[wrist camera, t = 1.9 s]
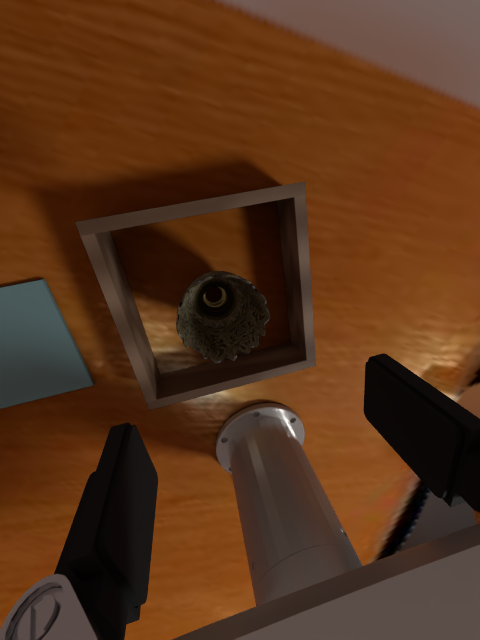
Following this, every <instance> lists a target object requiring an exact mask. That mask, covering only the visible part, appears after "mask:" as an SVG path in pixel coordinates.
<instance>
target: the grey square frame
mask: <svg viewBox="0 0 480 640" xmlns="http://www.w3.org/2000/svg"><path fill="white" fill-rule="evenodd" d="M276 200H277V209H278V219H279V229H280V239H281V248H282V258H283V268H284V278H285V288H286V298H287V308H288V318H289V328H290V337H291V342H289V343H285V344H281V345H277V346H273V347H269V348H265V349H261V350H257V351H253V352H249V353H248V354H241V355H237V358H236V359H235V360H234V361H232V360H231V359H229V358H225V359H224V360H223V361H222V362H220V363H214V362H209V363H205V364H201V365H197V366H193V367H189V368H185V369H182V370H178V371H174V372H170V373H166V374H162V375H160V372H159V369H158V367H157V364H156V361H155V358H154V355H153V352H152V349H151V347H150V344H149V341H148V338H147V335H146V332H145V329H144V327H143V324H142V321H141V318H140V315H139V312H138V309H137V306H136V304H135V301H134V298H133V295H132V292H131V289H130V286H129V284H128V281H127V278H126V275H125V272H124V269H123V266H122V264H121V261H120V258H119V255H118V252H117V249H116V246H115V244H114V241H113V238H112V235H111V232H110V231H112V230H118V229H123V228H129V227H134V226H140V225H145V224H151V223H156V222H162V221H167V220H172V219H178V218H183V217H189V216H194V215H200V214H205V213H211V212H216V211H222V210H227V209H233V208H238V207H243V206H249V205H254V204H260V203H265V202H271V201H276ZM75 223H76V226H77V228H78V231H79V233H80V236H81V239H82V241H83V244H84V246H85V249H86V251H87V254H88V256H89V259H90V261H91V264H92V266H93V269H94V271H95V274H96V276H97V279H98V281H99V284H100V287H101V289H102V292H103V294H104V297H105V299H106V302H107V304H108V307H109V309H110V312H111V314H112V317H113V319H114V322H115V324H116V327H117V329H118V332H119V335H120V337H121V340H122V342H123V345H124V347H125V350H126V352H127V355H128V357H129V360H130V362H131V365H132V367H133V370H134V372H135V375H136V377H137V380H138V382H139V385H140V388H141V390H142V393H143V395H144V398H145V400H146V403H147V405H148V408H149V410H152V409H156V408H160V407H163V406H167V405H171V404H175V403H178V402H182V401H186V400H190V399H193V398H197V397H201V396H205V395H208V394H212V393H216V392H220V391H223V390H227V389H231V388H235V387H238V386H242V385H246V384H250V383H253V382H257V381H261V380H265V379H268V378H272V377H276V376H280V375H283V374H287V373H291V372H295V371H298V370H302V369H306V368H310V367H313V366H316V359H315V342H314V325H313V309H312V292H311V275H310V259H309V242H308V226H307V209H306V192H305V182H300V183H294V184H288V185H283V186H277V187H271V188H266V189H260V190H254V191H249V192H243V193H237V194H232V195H226V196H220V197H215V198H209V199H203V200H198V201H192V202H186V203H181V204H175V205H169V206H164V207H158V208H152V209H147V210H141V211H135V212H130V213H124V214H118V215H113V216H107V217H101V218H96V219H90V220H84V221H79V222H75Z"/></svg>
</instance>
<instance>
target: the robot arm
mask: <svg viewBox="0 0 480 640" xmlns="http://www.w3.org/2000/svg"><path fill="white" fill-rule="evenodd" d="M364 414H365V417H366V418H367V420H368V421H369V422H370V423H371V424H372V425H373V427H374V428H375V429H376V430H377V431H378V432H379V433H380V434H381V435H382V437H383V438H384V439H385V440H386V441H387V442H388V443H389V444H390V446H391V447H392V448H393V449H394V450H395V451H396V452H397V453H398V454H399V456H400V457H401V458H402V459H403V460H404V461H405V462H406V463H407V465H408V466H409V467H410V468H411V469H412V470H413V471H414V472H415V474H416V475H417V476H418V477H419V478H420V479H421V480H422V481H423V482H424V484H425V485H426V486H427V487H428V488H429V489H430V490H431V491H432V493H433V494H434V495H436V496H437V497H438V498H442V499H443V500H444V501H445V502H446V503H447V504H448V505H449V506H450V507H453V506H455V505H458V504H461V503H464V502H465V501H466V502H467V503H468V504H469V505H470V506H471V507H472V508H473V512H474V517H475V521H476V525H474V526H471V527H468V528H465V529H462V530H460V531H457V532H454V533H451V534H449V535H446V536H444V537H441V538H438V539H435V540H432V541H430V542H427V543H424V544H422V545H419V546H416V547H413V548H411V549H408V550H405V551H403V552H400V553H397V554H394V555H392V556H389V557H386V558H384V559H381V560H378V561H376V562H373V563H370V564H368V565H365V566H362V564H361V562H360V560H359V558H358V556H357V554H356V552H355V550H354V548H353V546H352V544H351V542H350V540H349V538H348V536H347V534H346V532H345V530H344V528H343V526H342V524H341V523H340V521H339V519H338V517H337V515H336V513H335V511H334V509H333V507H332V505H331V503H330V501H329V499H328V497H327V495H326V493H325V491H324V489H323V487H322V485H321V483H320V481H319V480H318V478H317V476H316V474H315V472H314V470H313V468H312V466H311V464H310V462H309V460H308V458H307V456H306V454H305V452H304V450H303V448H302V445H303V442H304V438H305V431H304V426H303V424H302V422H301V420H300V418H299V417H298V415H297V414H296V413H295V412H294V411H293V410H292V409H290V408H288V407H286V406H284V405H280V404H275V403H262V404H257V405H253V406H250V407H247V408H245V409H242V410H241V411H239V412H237V413H236V414H234V415H233V416H232V417H231V418H229V419H228V420H227V421H226V423H225V424H224V425H223V426H222V428H221V429H220V431H219V433H218V436H217V439H216V446H215V447H216V455H217V458H218V461H219V463H220V465H221V466H222V467H223V468H224V469H225V470H226V471H228V472H229V473H231V474H232V478H233V483H234V488H235V494H236V499H237V505H238V510H239V515H240V521H241V526H242V532H243V537H244V543H245V548H246V553H247V559H248V564H249V570H250V575H251V581H252V586H253V591H254V597H255V602H256V607H254V608H251V609H248V610H246V611H243V612H241V613H238V614H235V615H233V616H230V617H228V618H225V619H222V620H220V621H217V622H214V623H212V624H209V625H207V626H204V627H202V628H199V629H197V630H194V631H192V632H189V633H187V634H185V635H182V636H180V637H177V638H175V639H172V640H480V419H479V418H478V417H476V416H475V415H473V414H472V413H470V412H469V411H468V410H466V409H464V408H463V407H461V406H460V405H459V404H458V403H456V402H455V401H453V400H452V399H450V398H449V397H447V396H446V395H445V394H443V393H442V392H440V391H439V390H437V389H436V388H434V387H433V386H432V385H430V384H429V383H427V382H426V381H424V380H423V379H421V378H420V377H419V376H417V375H416V374H414V373H413V372H411V371H410V370H408V369H407V368H406V367H404V366H403V365H401V364H400V363H398V362H397V361H395V360H394V359H393V358H391V357H390V356H388V355H387V354H379V355H376V356H372V357H370V358H369V360H368V362H366V367H365V391H364ZM157 487H158V476H157V472H156V470H155V468H154V465H153V463H152V461H151V459H150V456H149V454H148V452H147V450H146V448H145V445H144V443H143V441H142V439H141V436H140V434H139V432H138V430H137V427H136V426H135V425H133V426H131V425H130V423H124V424H121V425H117V426H113V427H112V428H111V429H110V431H109V434H108V437H107V440H106V443H105V446H104V449H103V452H102V455H101V458H100V461H99V464H98V467H97V470H96V471H95V472H93V473H92V474H91V475H90V476H89V479H88V481H87V484H86V486H85V489H84V492H83V495H82V498H81V500H80V503H79V506H78V509H77V512H76V514H75V517H74V520H73V523H72V525H71V528H70V531H69V534H68V537H67V539H66V542H65V545H64V548H63V551H62V553H61V556H60V559H59V562H58V565H57V567H56V570H55V573H54V575H50V576H47V577H45V578H44V579H42V580H40V581H38V582H37V583H36V584H34V585H33V586H32V587H31V588H30V589H28V590H27V591H26V592H25V593H24V594H23V596H22V597H21V598H20V599H19V600H18V601H17V602H16V604H15V605H14V607H13V608H12V609H11V611H10V612H9V614H8V615H7V617H6V619H5V621H4V623H3V625H2V627H1V629H0V640H124V637H125V630H126V624H129V623H132V622H134V621H137V620H139V617H140V608H141V605H142V604H144V603H145V602H146V599H147V593H148V583H149V572H150V561H151V551H152V540H153V530H154V519H155V508H156V498H157Z"/></svg>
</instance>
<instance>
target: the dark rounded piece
mask: <svg viewBox="0 0 480 640" xmlns="http://www.w3.org/2000/svg"><path fill="white" fill-rule="evenodd" d="M213 287H216V288H218V289H220V291H221V293H222V296H221V298H220V300H219V301H217V302H211V301H209V300H208V299H207V296H206V294H207V291H208V290H209V289H210V288H213ZM266 303H267V301H266V298H265V297H264V295H263V294H261V293H260V292H259V291H258V290H257V289H256V287H255V286H253V285H252V284H251V282H250V281H248V280H246V279H244V278H242V277H239V276H237V275H235V274H232V273H229V272H224V271H213V272H208V273H205V274H203V275H201V276H199V277H198V278H196V279H195V280H194V281H193V282H192V283H191V284H190V285H189V287H188V288H187V290H186V291H185V293H184V295H183V297H182V299H181V301H180V304H179V306H178V309H177V322H176V327H177V333H178V335H179V336H180V338H181V339H182V340H183V344H184V346H185V347H186V348H188V347H190V346H192V347H193V349H194V350H196V351H199V353H200V354H201V357H202V358H203V359H207V357H208V358H209V359H210V360H212V361H213V362H214V363H220V362H222V361H223V360H224V359H225V358H227V357H229V359H231V360H232V361H234V360H235V359H236V358H237V352H239V353H241V354H242V353H243V354H248V353H249V352H250V349H251V348H254V347H257V346H258V343H259V336H258V335H259V334H261V335H262V336H265V334H266V331H265V328H264V325H265V323H267V322H268V321H269V319H270V314H269V310H268V308H267V306H266Z"/></svg>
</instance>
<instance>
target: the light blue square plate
mask: <svg viewBox="0 0 480 640" xmlns="http://www.w3.org/2000/svg"><path fill="white" fill-rule="evenodd" d="M93 385H94V381H93V379H92V377H91V375H90V373H89V371H88V369H87V367H86V365H85V362H84V360H83V358H82V356H81V354H80V352H79V350H78V348H77V346H76V344H75V342H74V340H73V337H72V335H71V333H70V331H69V329H68V327H67V325H66V323H65V321H64V319H63V317H62V314H61V312H60V310H59V308H58V306H57V304H56V302H55V300H54V298H53V296H52V294H51V292H50V289H49V287H48V285H47V283H46V281H45V279H41V280H36V281H31V282H26V283H21V284H15V285H10V286H5V287H0V409H1V408H5V407H9V406H13V405H17V404H21V403H25V402H29V401H33V400H37V399H41V398H45V397H49V396H53V395H57V394H61V393H65V392H69V391H73V390H77V389H81V388H85V387H89V386H93Z"/></svg>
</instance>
